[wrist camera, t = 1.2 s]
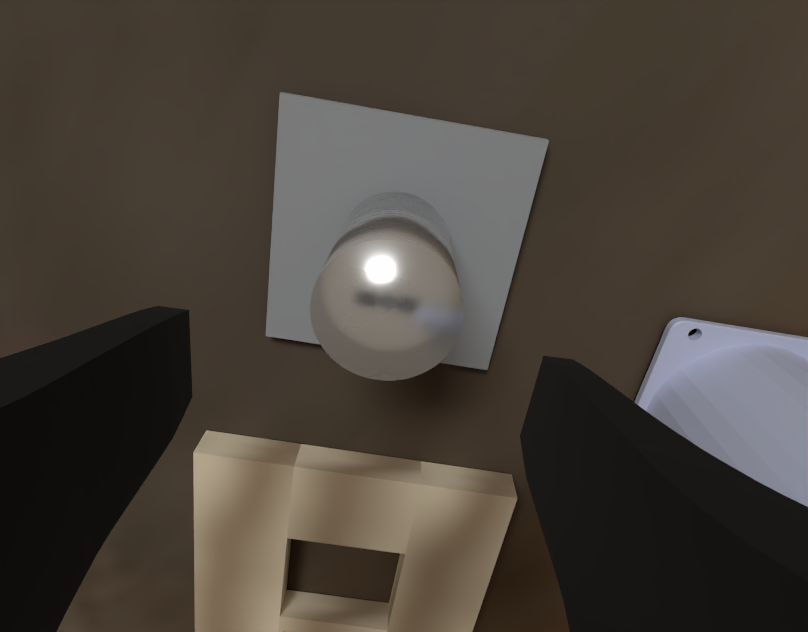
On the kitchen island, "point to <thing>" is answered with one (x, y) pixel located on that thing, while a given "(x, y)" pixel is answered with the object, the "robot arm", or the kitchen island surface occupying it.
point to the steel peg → (389, 290)
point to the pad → (398, 172)
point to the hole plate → (340, 535)
